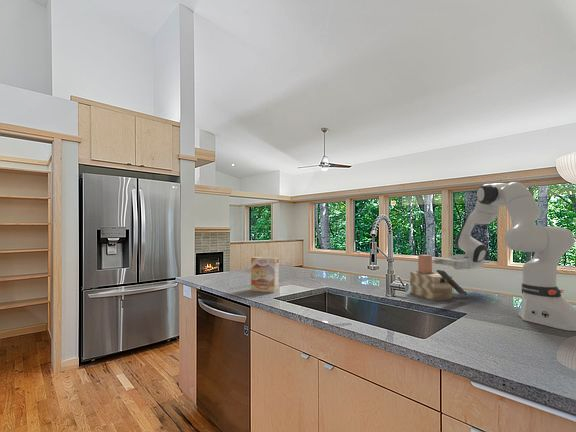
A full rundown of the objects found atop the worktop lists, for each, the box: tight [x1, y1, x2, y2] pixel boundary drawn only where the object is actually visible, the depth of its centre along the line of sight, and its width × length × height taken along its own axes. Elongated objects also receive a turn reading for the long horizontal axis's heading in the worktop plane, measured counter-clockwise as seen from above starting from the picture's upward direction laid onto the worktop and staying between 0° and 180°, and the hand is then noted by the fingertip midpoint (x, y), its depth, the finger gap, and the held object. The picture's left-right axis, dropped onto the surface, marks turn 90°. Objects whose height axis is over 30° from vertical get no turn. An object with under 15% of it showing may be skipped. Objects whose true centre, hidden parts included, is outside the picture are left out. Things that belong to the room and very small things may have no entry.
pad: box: [452, 292, 470, 300], centre depth 171 cm, size 9×9×1 cm
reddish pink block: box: [417, 254, 433, 273], centre depth 176 cm, size 5×5×10 cm
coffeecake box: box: [250, 256, 280, 294], centre depth 183 cm, size 15×7×20 cm, turn 71°
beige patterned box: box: [409, 270, 453, 301], centre depth 172 cm, size 18×12×13 cm, turn 18°
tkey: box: [436, 269, 468, 296], centre depth 160 cm, size 8×2×19 cm
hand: (439, 262), depth 179 cm, fingers open, 8 cm apart
